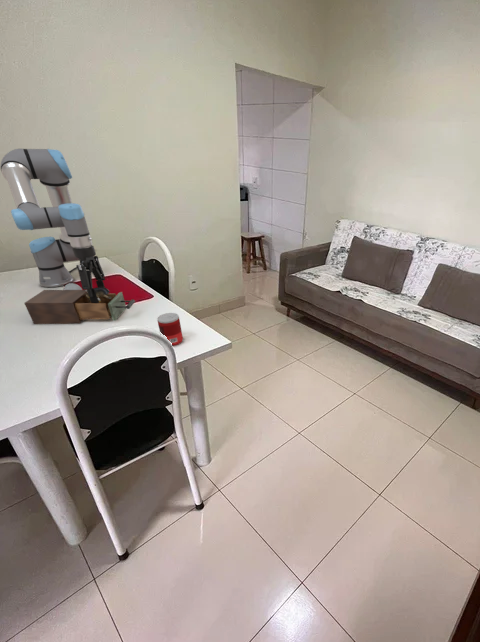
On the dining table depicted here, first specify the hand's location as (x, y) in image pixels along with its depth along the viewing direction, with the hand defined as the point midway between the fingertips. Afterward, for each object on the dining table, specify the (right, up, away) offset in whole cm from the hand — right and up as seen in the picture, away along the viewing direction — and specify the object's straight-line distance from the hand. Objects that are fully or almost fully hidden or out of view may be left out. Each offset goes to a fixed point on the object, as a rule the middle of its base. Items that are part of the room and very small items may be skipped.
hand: (99, 298), depth 142 cm
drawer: (+1, -6, +4) cm, 8 cm away
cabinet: (-17, -7, +3) cm, 19 cm away
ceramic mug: (-22, +2, +18) cm, 28 cm away
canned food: (+37, -19, -12) cm, 43 cm away
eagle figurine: (0, -1, +1) cm, 1 cm away
